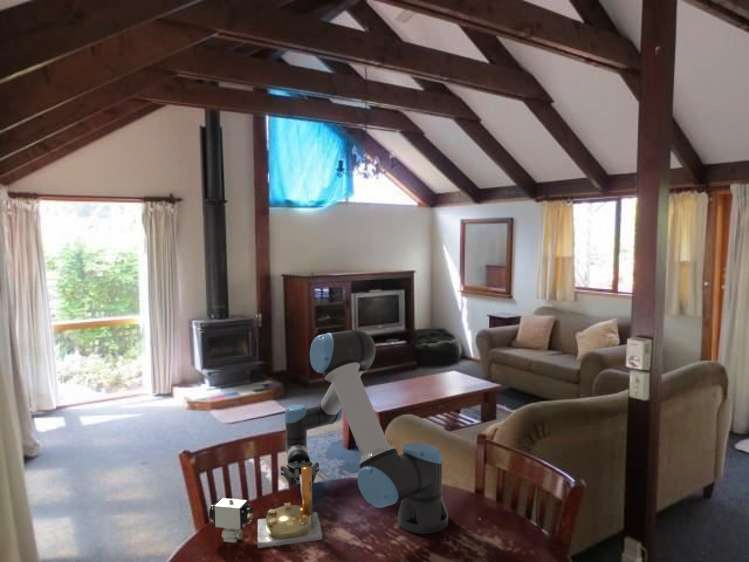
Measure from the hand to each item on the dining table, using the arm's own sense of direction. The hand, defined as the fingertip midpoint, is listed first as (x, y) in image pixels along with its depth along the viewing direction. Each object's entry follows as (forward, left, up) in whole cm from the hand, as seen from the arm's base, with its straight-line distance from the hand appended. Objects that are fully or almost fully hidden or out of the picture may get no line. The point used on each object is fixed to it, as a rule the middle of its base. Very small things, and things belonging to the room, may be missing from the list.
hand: (303, 490), depth 155 cm
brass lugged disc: (+5, +2, -9) cm, 10 cm away
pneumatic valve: (+21, +2, -11) cm, 24 cm away
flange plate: (+5, +2, -11) cm, 12 cm away
